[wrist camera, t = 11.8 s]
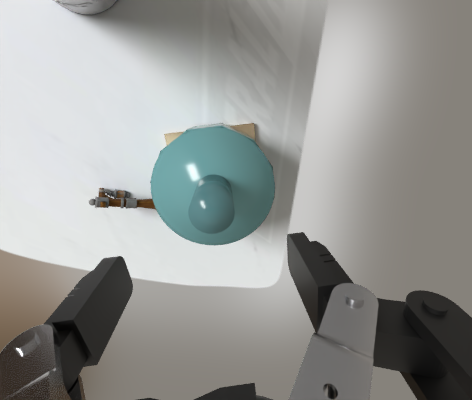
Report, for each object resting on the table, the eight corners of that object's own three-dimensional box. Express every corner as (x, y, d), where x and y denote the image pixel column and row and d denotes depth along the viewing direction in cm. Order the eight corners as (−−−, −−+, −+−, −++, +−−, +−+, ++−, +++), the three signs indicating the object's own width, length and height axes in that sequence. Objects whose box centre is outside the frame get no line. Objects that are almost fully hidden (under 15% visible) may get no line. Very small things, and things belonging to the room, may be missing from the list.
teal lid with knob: (159, 130, 26) (107, 142, 14) (258, 118, 26) (287, 120, 15) (179, 220, 30) (152, 286, 19) (264, 209, 31) (291, 268, 19)
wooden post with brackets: (91, 183, 28) (88, 197, 24) (158, 188, 32) (164, 201, 28) (90, 196, 28) (88, 212, 25) (156, 199, 32) (162, 214, 29)
